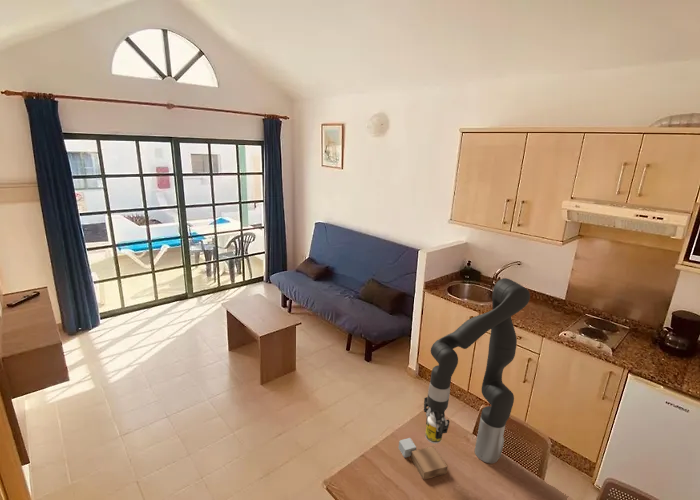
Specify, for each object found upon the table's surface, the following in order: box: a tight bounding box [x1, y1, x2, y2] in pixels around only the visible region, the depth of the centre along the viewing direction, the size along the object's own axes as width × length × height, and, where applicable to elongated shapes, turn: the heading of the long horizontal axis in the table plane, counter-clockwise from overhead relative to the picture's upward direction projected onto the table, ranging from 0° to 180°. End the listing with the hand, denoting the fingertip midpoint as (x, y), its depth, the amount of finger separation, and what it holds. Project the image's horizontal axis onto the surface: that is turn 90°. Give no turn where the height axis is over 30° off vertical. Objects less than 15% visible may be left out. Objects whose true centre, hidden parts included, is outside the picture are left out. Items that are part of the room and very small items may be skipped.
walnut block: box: [410, 445, 448, 480], centre depth 141 cm, size 10×10×4 cm
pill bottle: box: [424, 412, 443, 445], centre depth 136 cm, size 6×6×11 cm
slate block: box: [398, 437, 417, 459], centre depth 147 cm, size 5×5×4 cm
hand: (433, 431), depth 137 cm, fingers closed on pill bottle, 6 cm apart
